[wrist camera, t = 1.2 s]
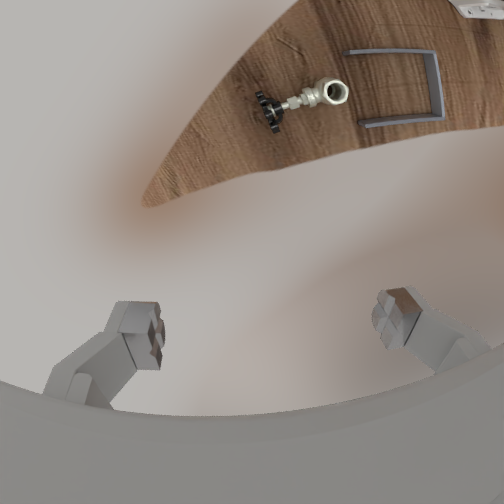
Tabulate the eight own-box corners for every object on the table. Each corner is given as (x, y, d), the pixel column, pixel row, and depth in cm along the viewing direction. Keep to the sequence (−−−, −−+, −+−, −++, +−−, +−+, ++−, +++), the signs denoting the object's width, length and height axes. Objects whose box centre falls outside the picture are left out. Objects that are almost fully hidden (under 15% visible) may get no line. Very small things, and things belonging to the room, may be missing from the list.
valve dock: (424, 50, 28) (435, 50, 25) (434, 116, 35) (445, 120, 32) (342, 52, 31) (349, 50, 28) (358, 124, 38) (365, 128, 35)
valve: (328, 67, 33) (254, 92, 36) (341, 65, 27) (255, 94, 30) (343, 105, 36) (272, 129, 39) (358, 110, 31) (275, 138, 34)
